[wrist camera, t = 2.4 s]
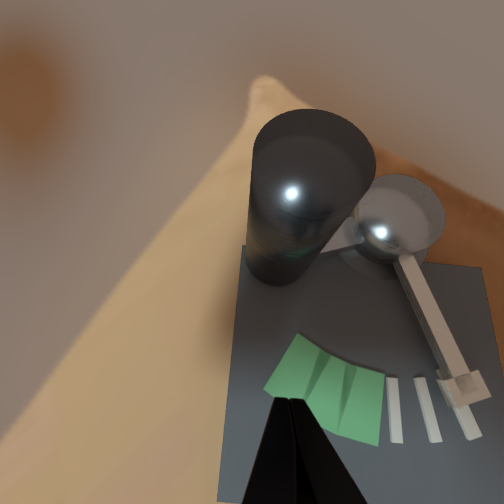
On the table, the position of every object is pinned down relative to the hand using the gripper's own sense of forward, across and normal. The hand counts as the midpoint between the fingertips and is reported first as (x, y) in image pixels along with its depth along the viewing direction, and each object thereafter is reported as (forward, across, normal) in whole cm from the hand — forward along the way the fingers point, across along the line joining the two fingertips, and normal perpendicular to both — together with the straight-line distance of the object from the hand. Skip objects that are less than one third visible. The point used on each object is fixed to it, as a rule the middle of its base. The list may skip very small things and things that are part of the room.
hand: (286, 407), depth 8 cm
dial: (+8, -5, +1) cm, 9 cm away
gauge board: (+8, -5, +3) cm, 10 cm away
